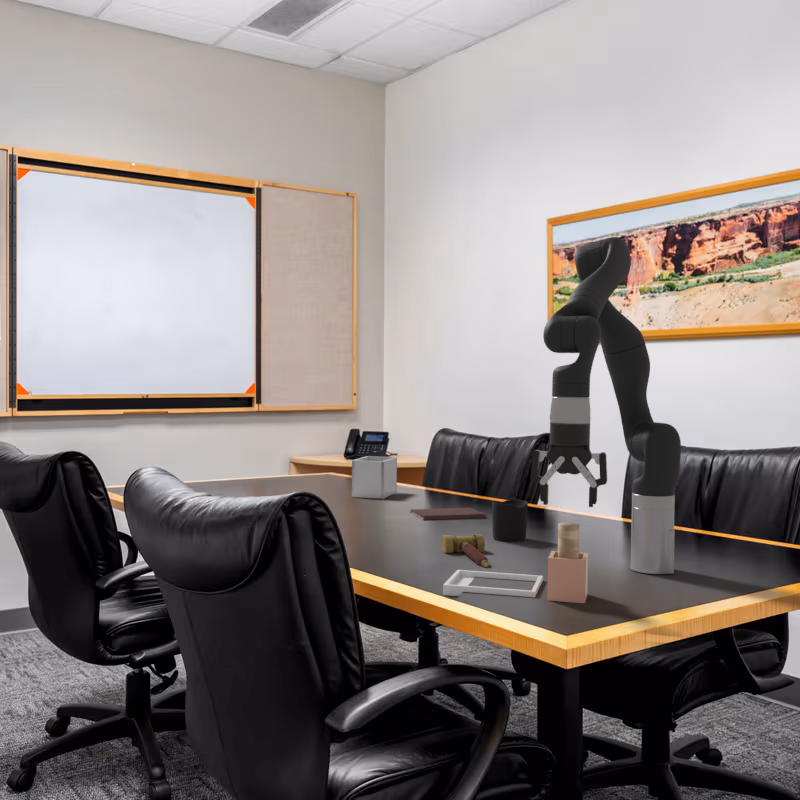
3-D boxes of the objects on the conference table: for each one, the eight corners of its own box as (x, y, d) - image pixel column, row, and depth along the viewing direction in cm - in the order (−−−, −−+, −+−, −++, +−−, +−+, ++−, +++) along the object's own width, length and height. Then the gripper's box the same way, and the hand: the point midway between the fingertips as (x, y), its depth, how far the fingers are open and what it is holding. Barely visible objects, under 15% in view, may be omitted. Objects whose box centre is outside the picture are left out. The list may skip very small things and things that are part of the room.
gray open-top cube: (396, 492, 320) (397, 457, 319) (383, 498, 303) (383, 461, 302) (366, 490, 323) (367, 456, 322) (351, 497, 306) (352, 460, 305)
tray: (542, 585, 179) (542, 575, 179) (534, 602, 165) (535, 591, 165) (457, 579, 183) (457, 569, 183) (443, 594, 170) (443, 584, 170)
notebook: (410, 514, 273) (410, 508, 272) (469, 512, 278) (469, 506, 277) (423, 522, 258) (423, 515, 258) (485, 520, 263) (485, 513, 263)
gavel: (508, 554, 195) (466, 556, 193) (507, 574, 196) (465, 576, 193) (479, 532, 216) (441, 533, 213) (479, 550, 216) (440, 551, 214)
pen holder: (526, 543, 224) (526, 505, 224) (489, 541, 226) (490, 503, 226) (528, 536, 233) (528, 500, 233) (493, 535, 235) (493, 498, 235)
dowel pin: (578, 595, 167) (580, 523, 166) (577, 600, 163) (578, 526, 163) (558, 593, 168) (559, 522, 168) (556, 598, 164) (557, 525, 164)
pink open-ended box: (587, 599, 168) (588, 553, 168) (585, 608, 161) (585, 560, 161) (550, 596, 170) (551, 550, 170) (547, 605, 163) (548, 557, 163)
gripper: (609, 421, 166) (607, 505, 167) (535, 418, 170) (533, 500, 171) (607, 423, 159) (605, 510, 160) (530, 420, 163) (528, 506, 163)
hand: (568, 505), depth 165 cm, fingers open, 8 cm apart
